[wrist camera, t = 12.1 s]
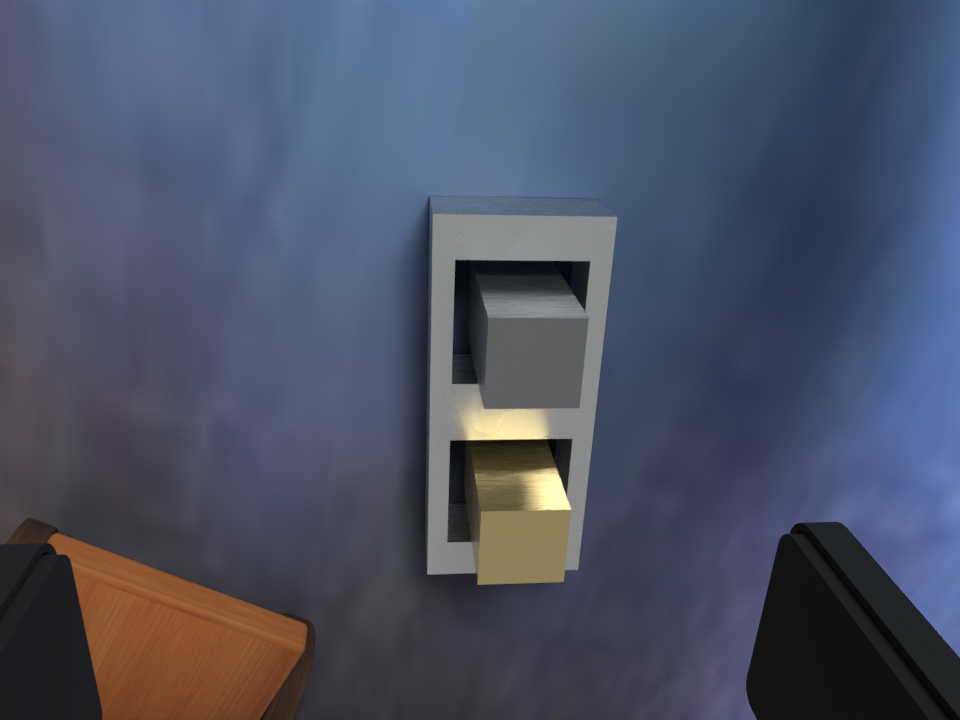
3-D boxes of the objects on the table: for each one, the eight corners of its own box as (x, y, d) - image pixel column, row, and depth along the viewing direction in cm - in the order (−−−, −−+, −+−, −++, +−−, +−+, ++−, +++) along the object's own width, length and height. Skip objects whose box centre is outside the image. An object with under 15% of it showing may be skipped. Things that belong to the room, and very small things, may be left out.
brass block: (540, 422, 42) (571, 509, 35) (535, 486, 44) (563, 581, 36) (466, 423, 42) (481, 511, 34) (463, 487, 43) (477, 584, 36)
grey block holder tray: (598, 199, 37) (617, 217, 34) (564, 530, 45) (578, 569, 42) (429, 196, 37) (432, 213, 33) (424, 533, 44) (427, 574, 41)
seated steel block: (551, 259, 38) (588, 318, 31) (545, 335, 40) (579, 408, 33) (470, 258, 38) (488, 317, 31) (467, 335, 40) (483, 408, 32)
